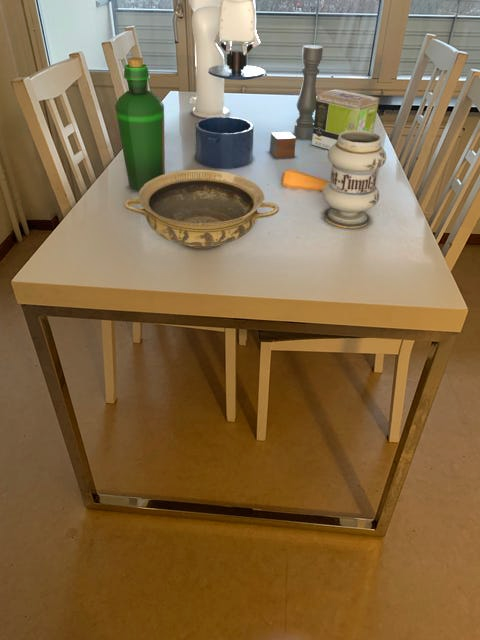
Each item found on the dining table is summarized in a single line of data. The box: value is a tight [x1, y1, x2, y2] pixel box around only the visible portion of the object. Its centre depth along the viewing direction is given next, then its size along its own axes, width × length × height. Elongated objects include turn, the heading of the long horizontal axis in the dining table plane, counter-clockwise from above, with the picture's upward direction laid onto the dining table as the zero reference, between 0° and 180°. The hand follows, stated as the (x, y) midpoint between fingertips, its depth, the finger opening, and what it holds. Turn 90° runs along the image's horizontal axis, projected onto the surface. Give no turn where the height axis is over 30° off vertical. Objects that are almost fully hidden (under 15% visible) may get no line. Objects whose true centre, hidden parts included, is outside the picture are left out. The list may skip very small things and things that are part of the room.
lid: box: [208, 50, 266, 81], centre depth 140 cm, size 17×17×6 cm
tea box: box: [311, 88, 380, 150], centre depth 140 cm, size 15×10×15 cm, turn 47°
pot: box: [194, 116, 255, 169], centre depth 133 cm, size 16×21×9 cm
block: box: [269, 131, 297, 160], centre depth 137 cm, size 6×6×6 cm
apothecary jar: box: [322, 130, 387, 229], centre depth 102 cm, size 12×12×18 cm
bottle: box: [114, 56, 166, 193], centre depth 110 cm, size 11×11×28 cm
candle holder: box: [293, 44, 324, 140], centre depth 145 cm, size 6×6×25 cm
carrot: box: [280, 168, 330, 192], centre depth 119 cm, size 20×4×4 cm, turn 80°
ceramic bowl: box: [123, 169, 280, 249], centre depth 95 cm, size 30×24×10 cm
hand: (236, 68), depth 141 cm, fingers closed on lid, 2 cm apart
